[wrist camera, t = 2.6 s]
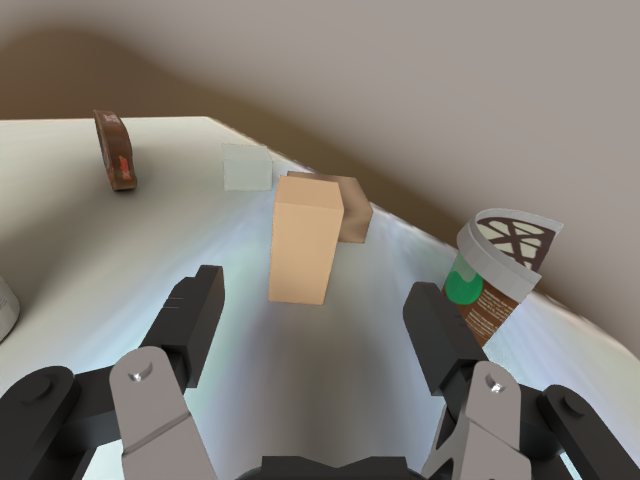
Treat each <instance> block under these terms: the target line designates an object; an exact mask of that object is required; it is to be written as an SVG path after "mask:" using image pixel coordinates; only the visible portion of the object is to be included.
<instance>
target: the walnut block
mask: <svg viewBox="0 0 640 480" xmlns="http://www.w3.org/2000/svg"><path fill="white" fill-rule="evenodd" d="M287 176H290V177H298V178H306V179H314V180H322V181H329V182H337V183H338V185H339V189H340V194H341V198H342V202H343V207H344V214H343V218H342V223H341V227H340V231H339V236H338V240H337V242H351V243H364V241H365V237H366V234H367V231H368V227H369V224H370V221H371V217H372V214H373V209H372V207H371V206H370V204H369V202H368V200H367V199H366V196H365V195H364V193H363V191H362V189H361V187H360V185H359V183H358V182H357V180H356V178H350V177H341V176H332V175H323V174H313V173H304V172H294V171H288V173H287Z"/></svg>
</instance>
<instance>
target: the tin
mask: <svg viewBox="0 0 640 480" xmlns="http://www.w3.org/2000/svg"><path fill="white" fill-rule="evenodd" d="M93 112H94V119H95V124H96V129H97V134H98V138H99V142H100V147H101V151H102V156H103V160H104V164H105V167H106V171H107V173H108V176H109V179H110V182H111V185H112V188H113V190H114V191H116V190H122V189H133V188H136V186H137V178H136V176H135V173H134V167H133V161H132V147H131V143H130V139H129V135H128V132H127V130H126V127H125V126H124V124H123V122H122V121H121V119H120V118H119V116H118V115H117V114H116V113H115V112H110V111H97V110H95V109H94V110H93Z"/></svg>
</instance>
